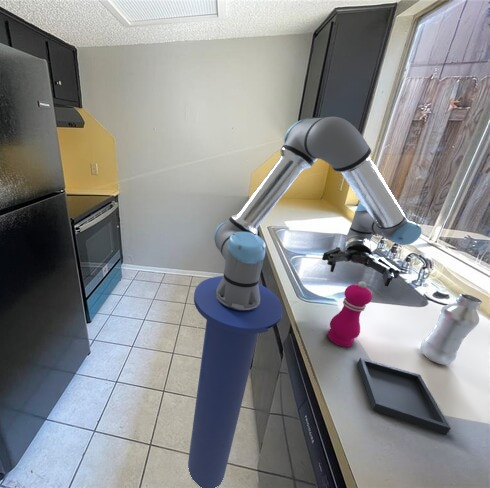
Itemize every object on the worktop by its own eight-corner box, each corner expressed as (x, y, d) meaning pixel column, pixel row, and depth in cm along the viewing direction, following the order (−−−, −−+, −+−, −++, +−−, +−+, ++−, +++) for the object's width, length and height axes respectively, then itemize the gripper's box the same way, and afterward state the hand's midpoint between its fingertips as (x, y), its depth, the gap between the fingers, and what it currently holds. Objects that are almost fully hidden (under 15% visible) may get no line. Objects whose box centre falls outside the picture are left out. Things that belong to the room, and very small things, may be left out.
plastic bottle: (438, 370, 67) (479, 308, 59) (411, 350, 73) (444, 291, 65) (457, 366, 69) (499, 305, 60) (428, 347, 75) (463, 289, 66)
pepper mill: (340, 329, 80) (363, 274, 72) (360, 347, 74) (387, 288, 65) (320, 331, 79) (340, 275, 71) (338, 349, 72) (363, 290, 64)
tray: (357, 363, 68) (359, 357, 67) (416, 380, 64) (420, 374, 63) (372, 409, 57) (376, 403, 56) (446, 434, 52) (451, 428, 52)
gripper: (397, 269, 88) (408, 300, 72) (316, 250, 101) (309, 273, 84) (406, 249, 85) (420, 277, 69) (321, 232, 97) (315, 252, 81)
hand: (359, 274), depth 77 cm, fingers open, 13 cm apart
